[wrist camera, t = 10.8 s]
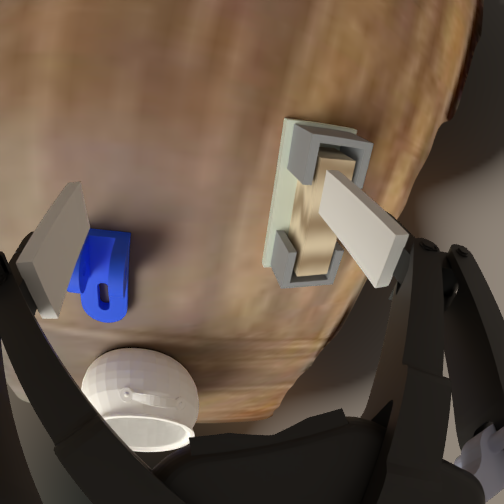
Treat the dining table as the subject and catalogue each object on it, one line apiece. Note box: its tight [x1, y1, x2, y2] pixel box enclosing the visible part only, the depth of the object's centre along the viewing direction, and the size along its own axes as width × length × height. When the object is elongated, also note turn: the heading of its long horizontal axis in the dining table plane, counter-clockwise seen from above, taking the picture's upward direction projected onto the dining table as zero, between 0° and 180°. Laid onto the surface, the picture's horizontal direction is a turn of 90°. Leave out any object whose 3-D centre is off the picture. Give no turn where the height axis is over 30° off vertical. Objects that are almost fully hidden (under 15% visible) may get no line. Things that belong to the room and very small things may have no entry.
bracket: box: [67, 228, 131, 323], centre depth 41 cm, size 18×8×9 cm, turn 164°
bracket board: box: [262, 118, 373, 288], centre depth 42 cm, size 24×11×7 cm, turn 173°
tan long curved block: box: [288, 146, 356, 276], centre depth 42 cm, size 18×5×6 cm, turn 175°
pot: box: [81, 348, 199, 452], centre depth 55 cm, size 29×26×16 cm
